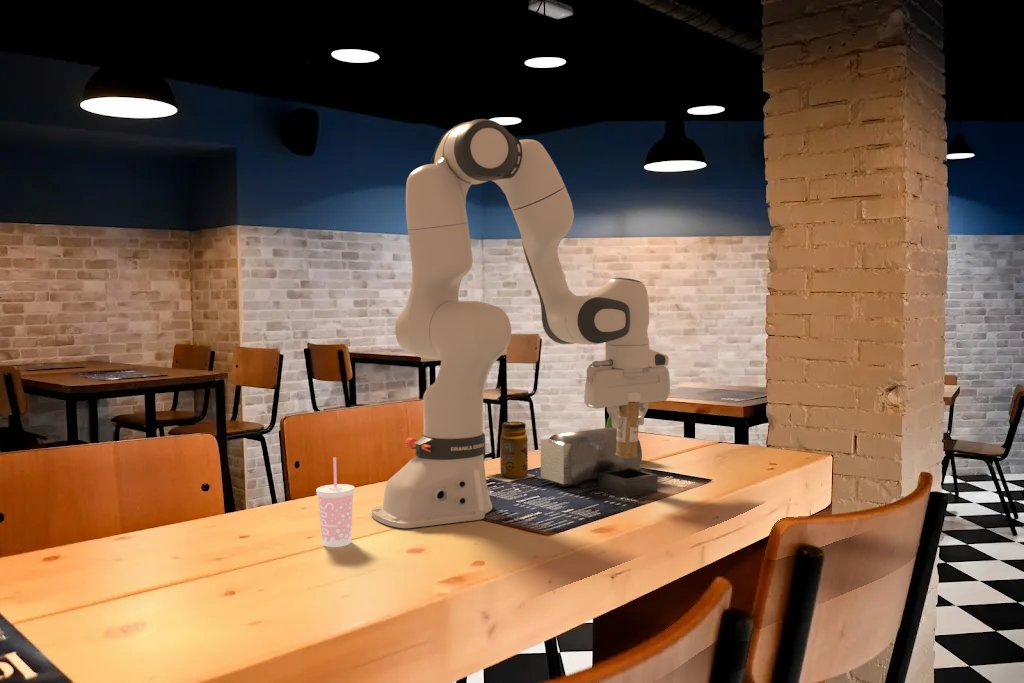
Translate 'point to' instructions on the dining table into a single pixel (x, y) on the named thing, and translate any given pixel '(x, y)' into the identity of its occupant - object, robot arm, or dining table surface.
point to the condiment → (513, 452)
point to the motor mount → (594, 463)
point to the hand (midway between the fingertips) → (628, 426)
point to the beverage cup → (335, 512)
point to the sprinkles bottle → (628, 427)
